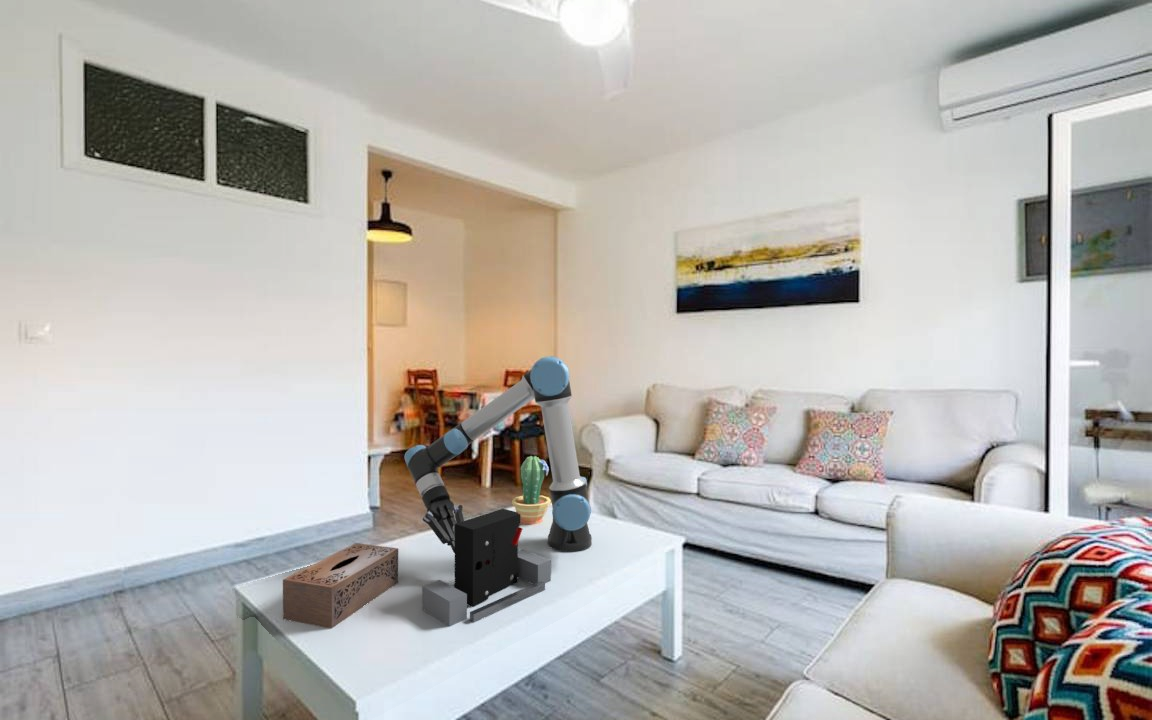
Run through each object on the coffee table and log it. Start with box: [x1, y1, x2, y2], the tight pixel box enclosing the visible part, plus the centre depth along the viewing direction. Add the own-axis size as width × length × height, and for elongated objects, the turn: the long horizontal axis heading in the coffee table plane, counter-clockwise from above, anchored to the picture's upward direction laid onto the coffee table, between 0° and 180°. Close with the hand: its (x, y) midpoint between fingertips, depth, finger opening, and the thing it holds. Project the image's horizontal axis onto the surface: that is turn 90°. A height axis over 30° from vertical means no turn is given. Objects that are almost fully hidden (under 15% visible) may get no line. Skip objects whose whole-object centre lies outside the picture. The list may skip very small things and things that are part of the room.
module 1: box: [421, 579, 468, 627], centre depth 130 cm, size 5×12×6 cm, turn 48°
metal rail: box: [469, 581, 546, 623], centre depth 135 cm, size 24×2×2 cm, turn 138°
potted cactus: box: [511, 455, 552, 525], centre depth 203 cm, size 15×15×25 cm
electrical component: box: [452, 508, 524, 608], centre depth 143 cm, size 18×10×20 cm, turn 142°
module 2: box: [518, 548, 552, 585], centre depth 151 cm, size 5×12×6 cm, turn 48°
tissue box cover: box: [282, 542, 399, 629], centre depth 137 cm, size 26×14×10 cm, turn 164°
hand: (465, 561), depth 147 cm, fingers closed
